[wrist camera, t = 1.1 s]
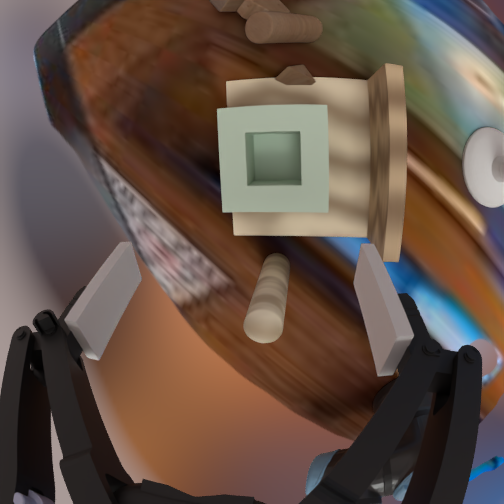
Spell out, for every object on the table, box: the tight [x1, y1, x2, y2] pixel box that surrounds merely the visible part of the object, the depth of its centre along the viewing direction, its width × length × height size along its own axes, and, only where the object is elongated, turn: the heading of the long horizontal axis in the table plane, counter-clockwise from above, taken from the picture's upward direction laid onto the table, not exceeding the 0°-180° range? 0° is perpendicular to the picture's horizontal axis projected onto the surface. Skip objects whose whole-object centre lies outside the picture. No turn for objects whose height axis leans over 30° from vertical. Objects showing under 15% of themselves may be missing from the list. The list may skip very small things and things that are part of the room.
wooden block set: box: [210, 0, 323, 85], centre depth 28 cm, size 18×9×10 cm
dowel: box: [244, 253, 290, 343], centre depth 36 cm, size 4×4×16 cm
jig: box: [226, 63, 407, 262], centre depth 33 cm, size 22×21×10 cm
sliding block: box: [217, 104, 329, 213], centre depth 34 cm, size 12×12×7 cm
